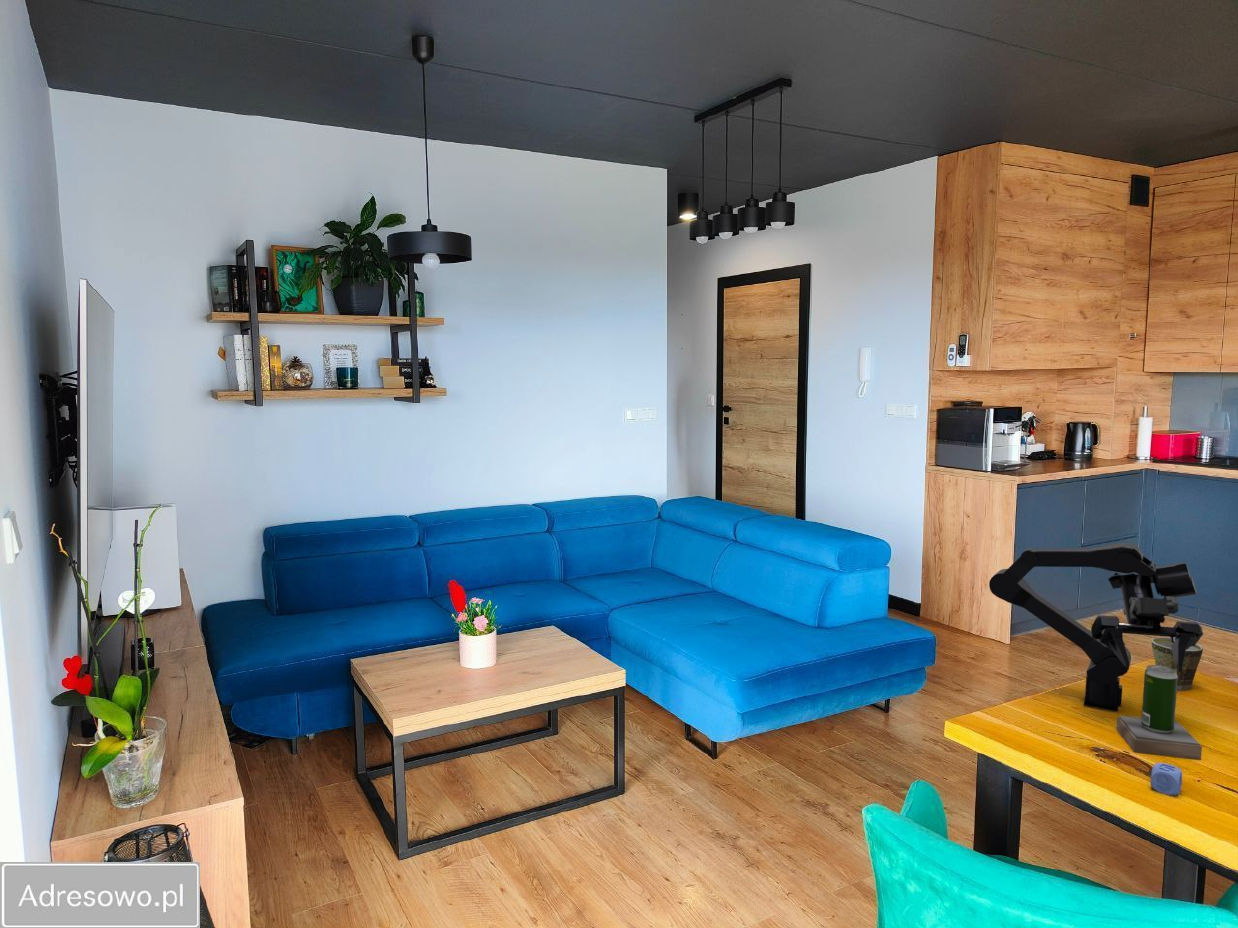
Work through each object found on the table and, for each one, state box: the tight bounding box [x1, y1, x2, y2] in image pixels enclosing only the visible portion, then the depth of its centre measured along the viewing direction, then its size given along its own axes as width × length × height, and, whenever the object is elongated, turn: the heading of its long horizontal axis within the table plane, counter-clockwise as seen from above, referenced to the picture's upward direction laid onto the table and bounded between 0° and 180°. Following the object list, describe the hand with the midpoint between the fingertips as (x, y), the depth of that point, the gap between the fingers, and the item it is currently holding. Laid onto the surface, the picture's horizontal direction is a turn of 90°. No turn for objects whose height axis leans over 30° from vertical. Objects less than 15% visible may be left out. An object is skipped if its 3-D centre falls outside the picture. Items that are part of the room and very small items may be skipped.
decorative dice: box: [1150, 762, 1183, 796], centre depth 141 cm, size 4×4×4 cm
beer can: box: [1141, 664, 1178, 734], centre depth 159 cm, size 5×5×12 cm
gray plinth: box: [1115, 715, 1203, 761], centre depth 160 cm, size 11×11×3 cm
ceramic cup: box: [1151, 636, 1204, 691], centre depth 190 cm, size 13×10×10 cm
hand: (1153, 668), depth 163 cm, fingers open, 9 cm apart
